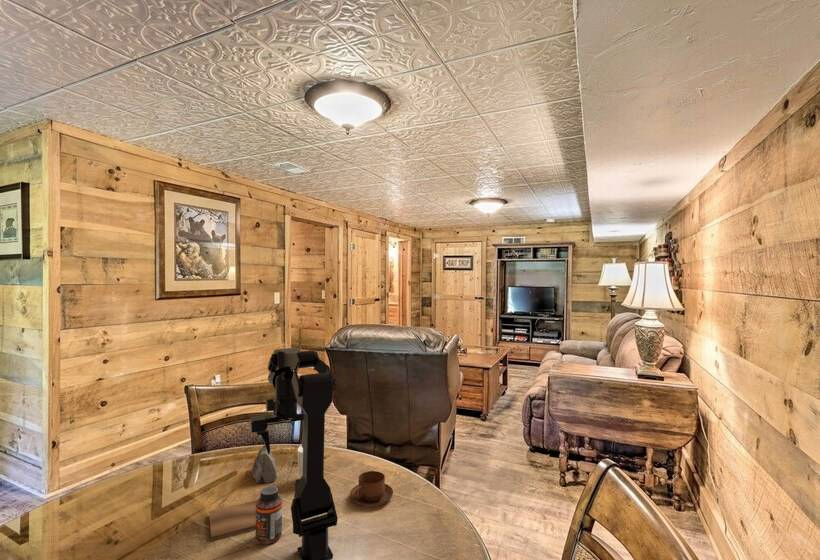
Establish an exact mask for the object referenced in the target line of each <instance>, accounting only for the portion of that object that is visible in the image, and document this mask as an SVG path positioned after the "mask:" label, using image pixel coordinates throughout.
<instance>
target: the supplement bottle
mask: <svg viewBox="0 0 820 560" xmlns="http://www.w3.org/2000/svg"><path fill="white" fill-rule="evenodd" d="M259 494H260V495H259V498H258V499H257V500H258V501H257V503H256V529H255V532H254V533H255V535H254V536H255V541H256V543H258V544H260V545H271V544H273V543H274V544H275V542H278V540H280V538H282V535H283V498H282V496H281V495H280V494H279V487H277V486H275V485H270V486H269V485H268V486H266V487H264V488H262V489H261V490H260V493H259Z"/></svg>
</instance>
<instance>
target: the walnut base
mask: <svg viewBox="0 0 820 560" xmlns="http://www.w3.org/2000/svg"><path fill="white" fill-rule="evenodd" d="M257 501H258V499H257V500H252V501H247V502H244V503H239V504H236V505H235V504H234V505H231V506H226V507H224V508H223V507H222V508H219V509H215V510H211V511H209V513H208V518H209V519H208V520H209V528H210V529H209V530H210V540H211V542H214V541H218V540H221V539H225V538H228V537H231V536H236V535H239V534H242V533H243V534H244V533H248V532H251V531H254V530H255V531H256V503H257Z"/></svg>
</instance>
